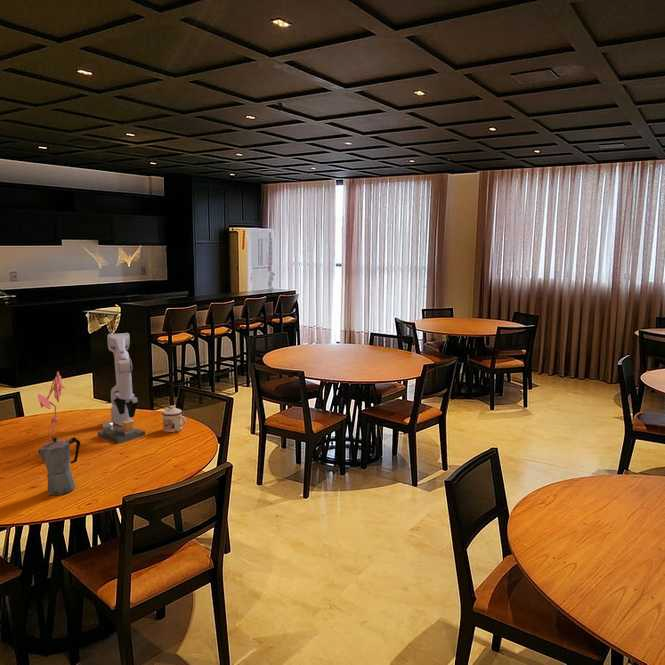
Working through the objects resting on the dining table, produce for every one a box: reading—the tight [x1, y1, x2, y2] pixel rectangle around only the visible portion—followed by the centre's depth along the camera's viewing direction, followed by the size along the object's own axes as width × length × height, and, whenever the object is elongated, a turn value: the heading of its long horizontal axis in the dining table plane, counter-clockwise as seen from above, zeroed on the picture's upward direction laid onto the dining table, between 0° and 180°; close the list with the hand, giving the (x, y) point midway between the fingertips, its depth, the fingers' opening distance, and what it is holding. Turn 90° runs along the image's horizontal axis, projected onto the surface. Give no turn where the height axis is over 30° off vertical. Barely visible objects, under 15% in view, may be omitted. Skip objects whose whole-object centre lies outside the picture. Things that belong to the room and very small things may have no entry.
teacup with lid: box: [161, 405, 187, 433], centre depth 275 cm, size 12×9×12 cm
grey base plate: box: [97, 420, 146, 444], centre depth 267 cm, size 16×14×6 cm
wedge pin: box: [122, 420, 134, 431], centre depth 266 cm, size 3×3×7 cm
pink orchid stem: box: [37, 371, 82, 465], centre depth 242 cm, size 15×26×35 cm, turn 16°
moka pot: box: [36, 436, 81, 496], centre depth 208 cm, size 10×15×20 cm, turn 146°
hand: (126, 415), depth 265 cm, fingers open, 7 cm apart
